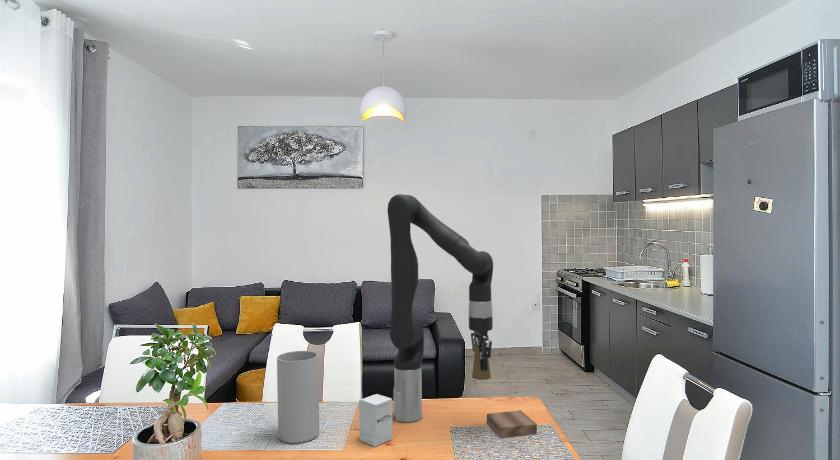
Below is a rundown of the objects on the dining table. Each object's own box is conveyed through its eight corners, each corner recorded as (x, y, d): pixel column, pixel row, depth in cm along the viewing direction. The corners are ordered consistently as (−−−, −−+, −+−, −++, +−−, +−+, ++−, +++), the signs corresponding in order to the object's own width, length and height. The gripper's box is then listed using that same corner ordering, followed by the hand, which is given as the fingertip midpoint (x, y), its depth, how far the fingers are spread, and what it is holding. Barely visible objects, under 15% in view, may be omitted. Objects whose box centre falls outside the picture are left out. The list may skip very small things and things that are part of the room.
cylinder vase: (327, 431, 162) (326, 353, 162) (302, 447, 151) (301, 363, 150) (295, 425, 167) (294, 349, 167) (269, 440, 156) (268, 358, 156)
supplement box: (375, 447, 150) (374, 404, 150) (358, 440, 155) (358, 399, 155) (393, 439, 155) (392, 398, 155) (377, 432, 161) (376, 392, 160)
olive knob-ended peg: (490, 380, 158) (489, 344, 158) (471, 379, 160) (470, 344, 159) (491, 374, 164) (491, 340, 164) (473, 373, 165) (472, 340, 165)
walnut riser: (500, 437, 156) (500, 428, 155) (486, 422, 167) (486, 413, 167) (536, 433, 158) (536, 424, 158) (520, 419, 170) (520, 410, 170)
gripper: (462, 311, 168) (463, 363, 168) (476, 319, 154) (477, 376, 154) (484, 310, 169) (485, 361, 170) (499, 317, 155) (500, 373, 156)
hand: (481, 368), depth 162 cm, fingers closed on olive knob-ended peg, 4 cm apart
